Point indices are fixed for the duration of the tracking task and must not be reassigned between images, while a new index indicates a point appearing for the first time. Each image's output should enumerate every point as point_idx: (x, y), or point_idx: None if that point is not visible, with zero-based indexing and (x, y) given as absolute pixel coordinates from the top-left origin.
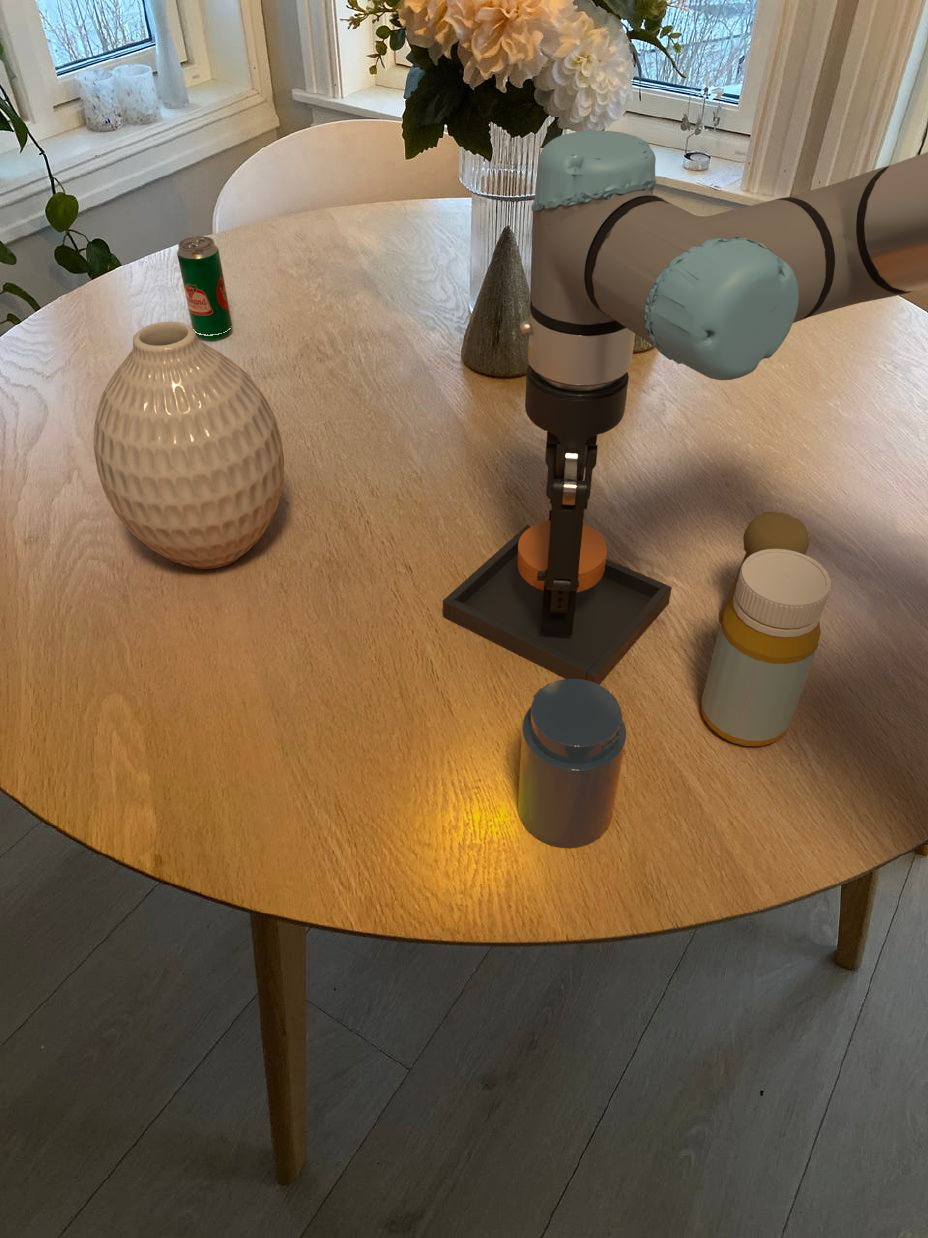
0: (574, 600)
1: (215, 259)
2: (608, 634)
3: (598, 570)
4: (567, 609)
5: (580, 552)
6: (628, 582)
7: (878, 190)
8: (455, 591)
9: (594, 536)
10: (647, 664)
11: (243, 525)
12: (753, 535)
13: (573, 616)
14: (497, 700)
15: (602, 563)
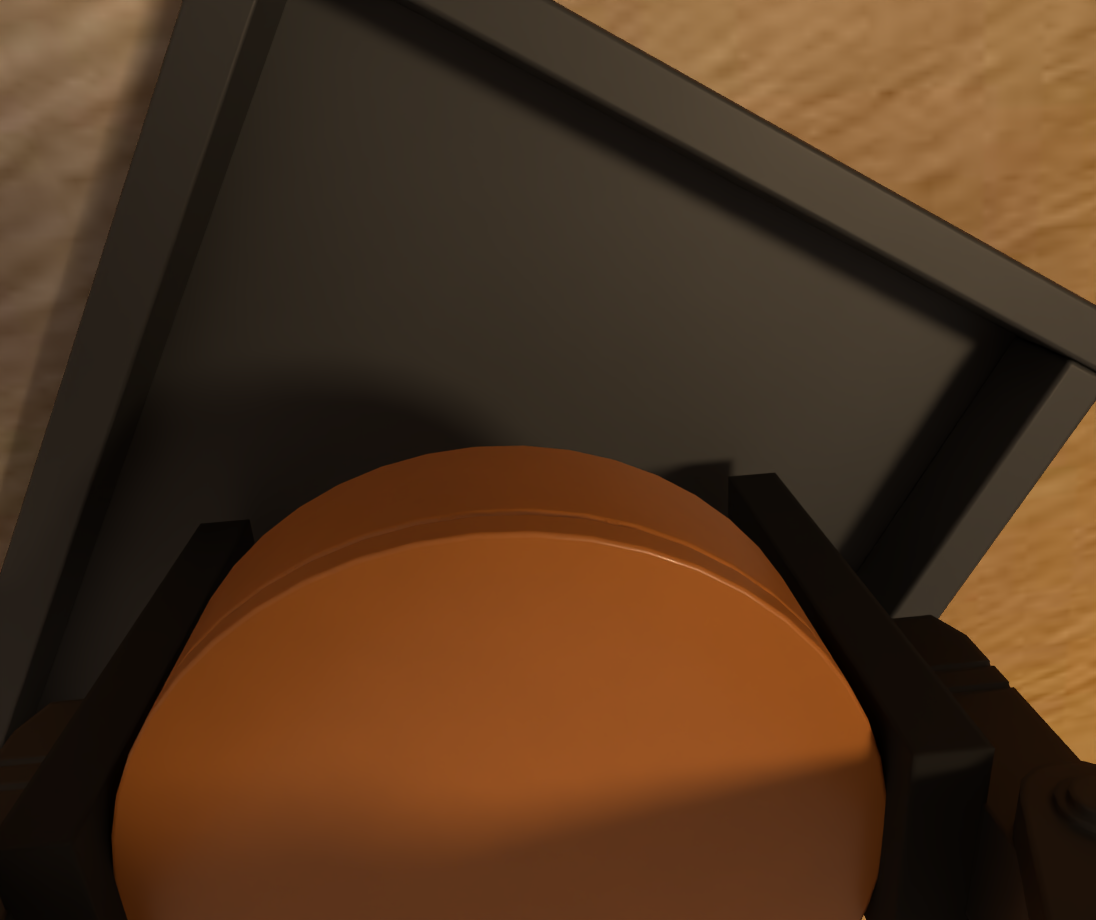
0: (880, 611)
1: None
2: (679, 265)
3: (708, 546)
4: (972, 642)
5: (573, 746)
6: (213, 178)
7: None
8: None
9: (297, 664)
10: (856, 12)
11: None
12: None
13: (827, 538)
14: (1084, 684)
15: (660, 540)
